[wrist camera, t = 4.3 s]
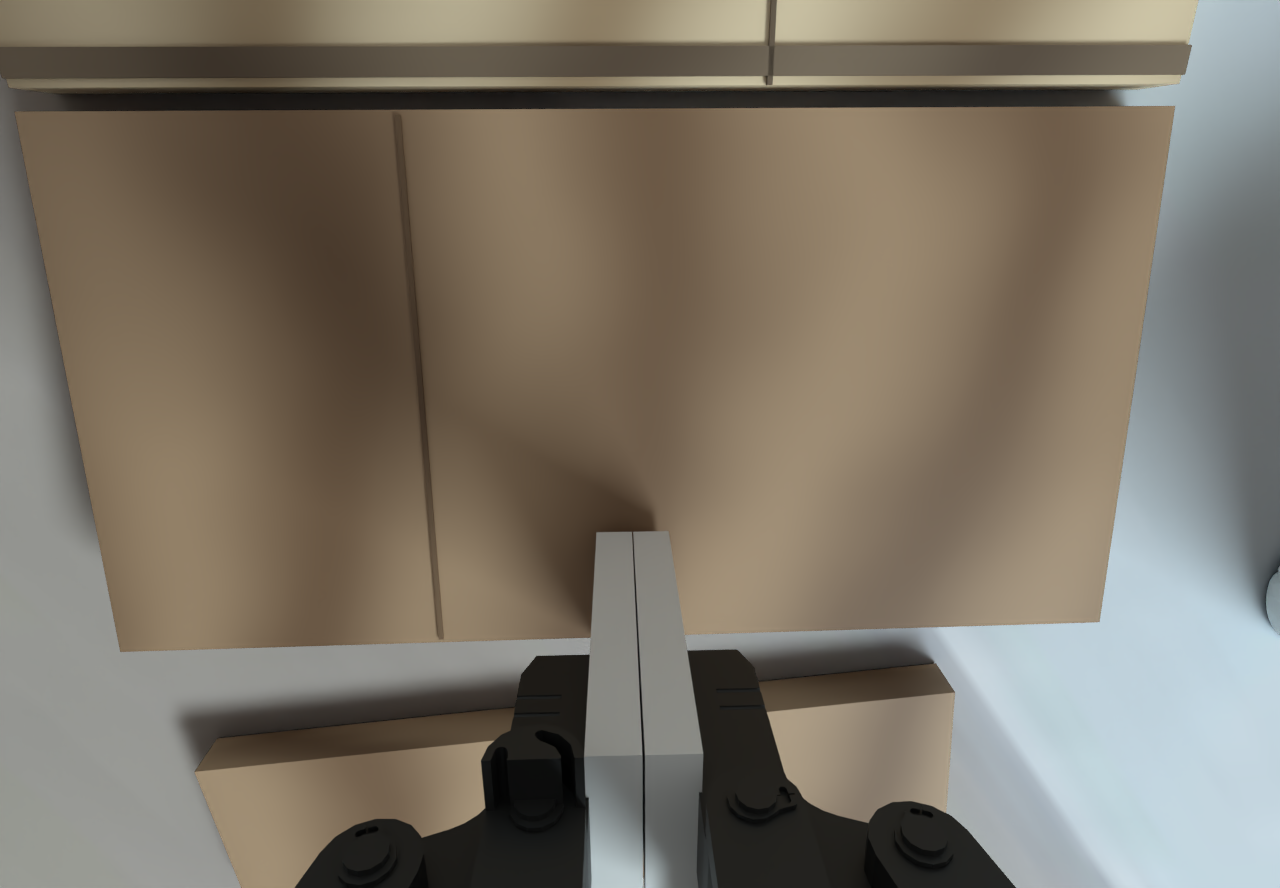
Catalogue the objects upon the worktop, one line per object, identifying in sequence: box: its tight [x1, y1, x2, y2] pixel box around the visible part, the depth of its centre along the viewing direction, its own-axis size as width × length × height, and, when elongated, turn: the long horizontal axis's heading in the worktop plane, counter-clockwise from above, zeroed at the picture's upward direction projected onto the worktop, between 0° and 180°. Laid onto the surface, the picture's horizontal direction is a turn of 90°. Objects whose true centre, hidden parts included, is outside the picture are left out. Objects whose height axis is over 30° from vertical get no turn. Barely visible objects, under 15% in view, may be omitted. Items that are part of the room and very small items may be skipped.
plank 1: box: [15, 106, 1175, 652], centre depth 16 cm, size 22×11×1 cm, turn 90°
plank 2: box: [195, 663, 955, 888], centre depth 21 cm, size 20×6×1 cm, turn 95°
